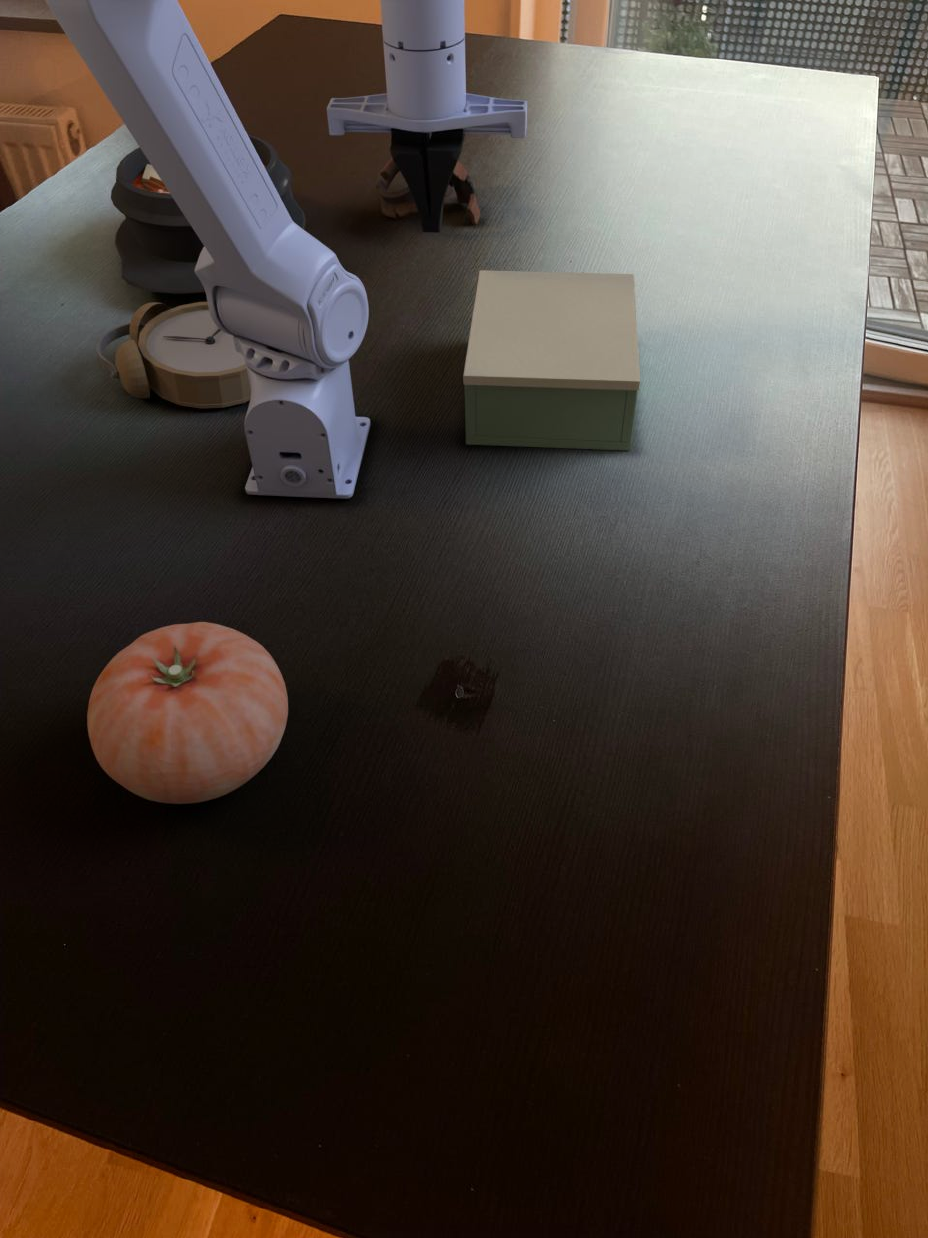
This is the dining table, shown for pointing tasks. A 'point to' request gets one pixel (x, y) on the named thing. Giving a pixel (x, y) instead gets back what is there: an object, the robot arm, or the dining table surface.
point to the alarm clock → (178, 357)
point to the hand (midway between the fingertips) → (432, 226)
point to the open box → (549, 417)
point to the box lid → (554, 331)
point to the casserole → (172, 223)
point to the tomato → (187, 713)
